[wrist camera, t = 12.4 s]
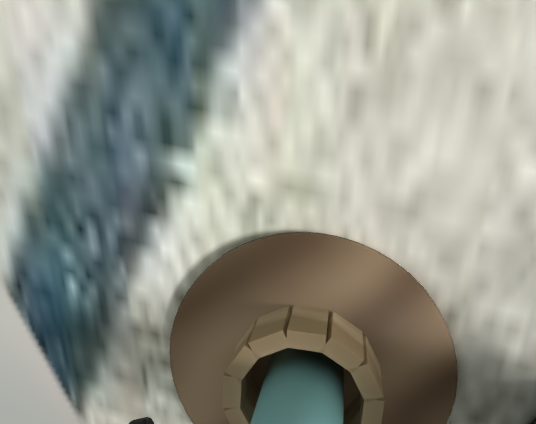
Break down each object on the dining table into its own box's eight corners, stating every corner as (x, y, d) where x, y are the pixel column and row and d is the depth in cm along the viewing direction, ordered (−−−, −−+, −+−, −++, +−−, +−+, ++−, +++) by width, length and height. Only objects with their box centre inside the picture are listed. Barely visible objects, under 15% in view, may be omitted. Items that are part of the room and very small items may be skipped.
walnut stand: (521, 349, 24) (549, 388, 21) (339, 528, 29) (338, 583, 26) (266, 173, 24) (253, 184, 21) (128, 381, 29) (100, 417, 26)
